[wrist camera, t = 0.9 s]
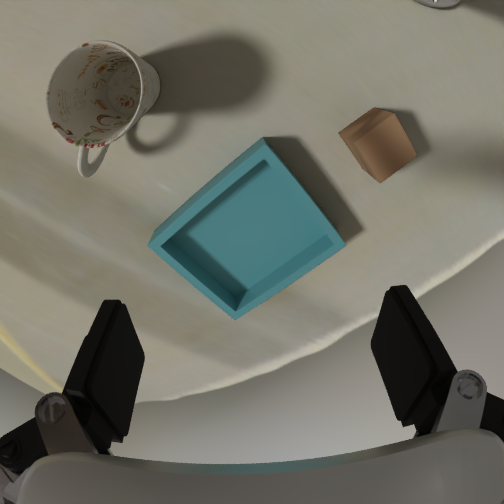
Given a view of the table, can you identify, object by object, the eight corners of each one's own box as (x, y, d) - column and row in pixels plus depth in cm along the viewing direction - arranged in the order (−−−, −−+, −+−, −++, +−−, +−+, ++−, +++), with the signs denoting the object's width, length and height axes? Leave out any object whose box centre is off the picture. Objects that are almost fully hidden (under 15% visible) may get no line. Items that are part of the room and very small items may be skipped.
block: (373, 107, 29) (394, 113, 24) (395, 144, 31) (417, 155, 26) (337, 132, 30) (354, 142, 26) (362, 168, 32) (380, 183, 28)
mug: (184, 60, 26) (159, 51, 17) (146, 172, 31) (114, 210, 23) (110, 43, 24) (62, 34, 15) (80, 152, 30) (31, 183, 21)
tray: (262, 137, 30) (265, 143, 27) (337, 230, 36) (346, 245, 33) (154, 230, 35) (147, 245, 32) (235, 301, 41) (235, 320, 38)
